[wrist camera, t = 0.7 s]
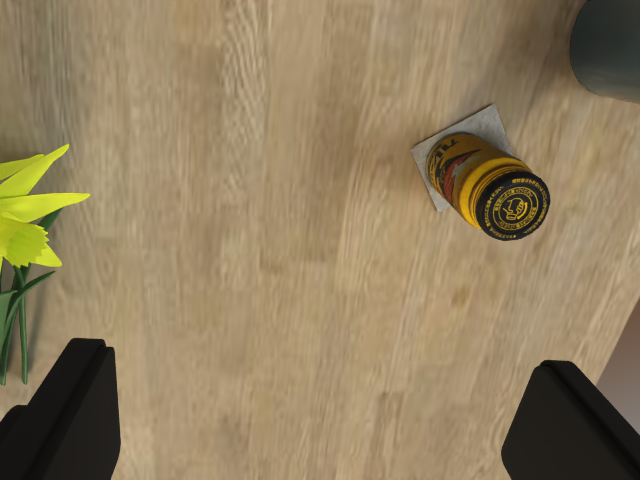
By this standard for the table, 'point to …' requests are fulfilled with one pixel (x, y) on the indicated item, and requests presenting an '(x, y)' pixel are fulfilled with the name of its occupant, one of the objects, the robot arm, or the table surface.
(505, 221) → the yellow coffee bottle
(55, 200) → the daffodil flowers
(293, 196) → the table surface
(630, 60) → the blue jar
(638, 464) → the robot arm
